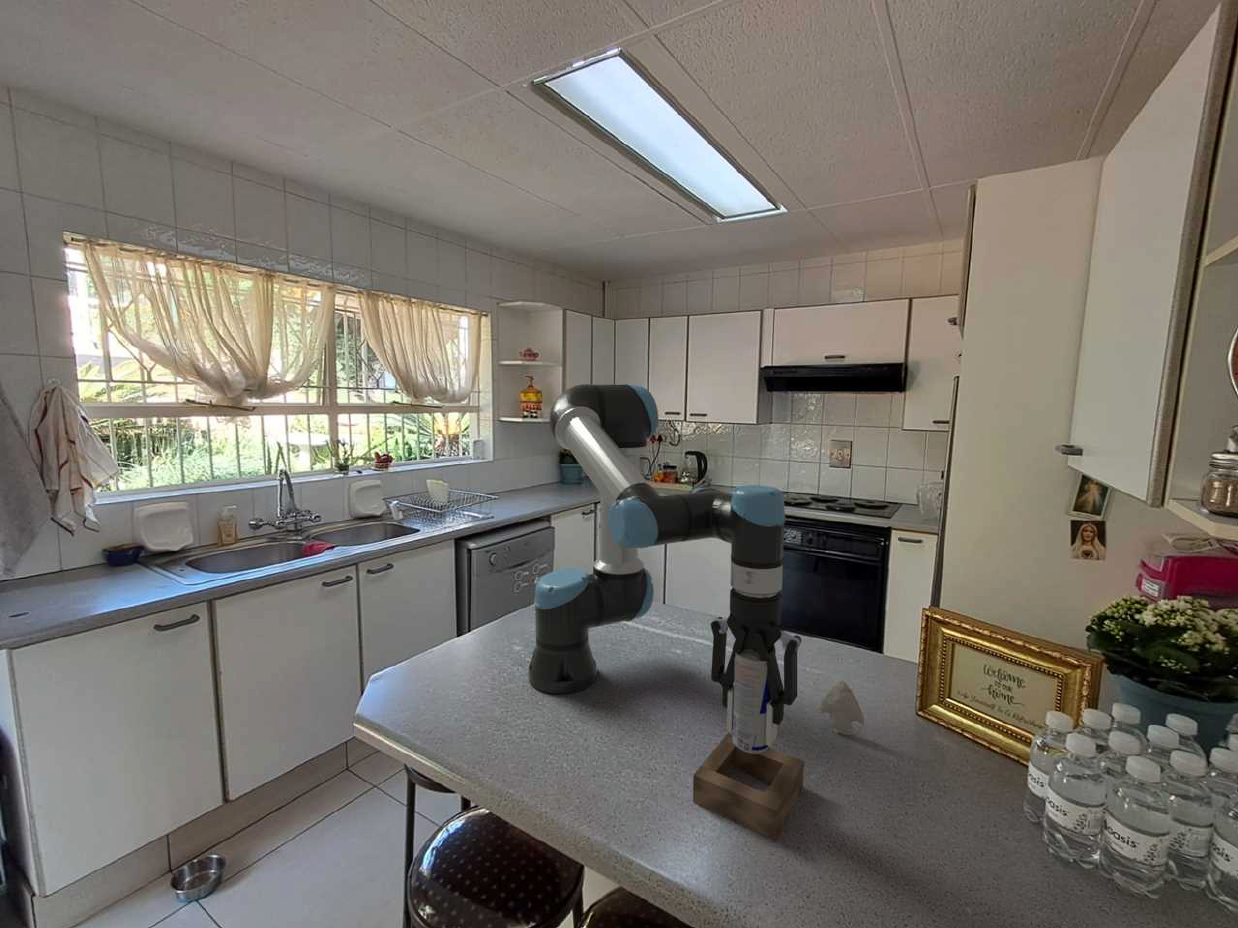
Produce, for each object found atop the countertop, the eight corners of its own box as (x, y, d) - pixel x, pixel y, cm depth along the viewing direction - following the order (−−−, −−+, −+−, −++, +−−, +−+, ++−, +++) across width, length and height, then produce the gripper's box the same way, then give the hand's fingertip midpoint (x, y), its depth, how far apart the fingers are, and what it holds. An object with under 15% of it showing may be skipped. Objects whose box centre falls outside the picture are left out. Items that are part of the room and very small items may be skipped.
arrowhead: (865, 736, 101) (868, 685, 100) (861, 744, 99) (864, 691, 98) (820, 721, 106) (823, 672, 104) (816, 728, 103) (819, 678, 102)
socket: (692, 801, 85) (693, 774, 84) (727, 756, 95) (728, 732, 95) (775, 840, 77) (776, 811, 77) (802, 786, 88) (804, 760, 87)
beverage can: (771, 758, 82) (774, 663, 80) (732, 753, 83) (735, 659, 81) (768, 735, 87) (771, 646, 85) (732, 731, 88) (734, 643, 87)
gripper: (688, 584, 84) (686, 725, 87) (811, 610, 74) (804, 769, 77) (710, 571, 91) (707, 703, 93) (826, 594, 80) (819, 742, 83)
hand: (751, 733), depth 85 cm, fingers closed on beverage can, 5 cm apart
